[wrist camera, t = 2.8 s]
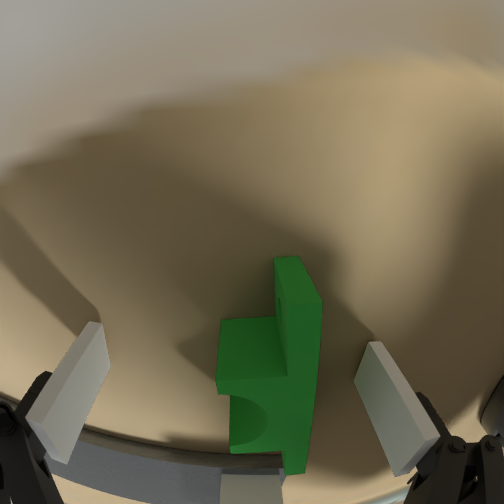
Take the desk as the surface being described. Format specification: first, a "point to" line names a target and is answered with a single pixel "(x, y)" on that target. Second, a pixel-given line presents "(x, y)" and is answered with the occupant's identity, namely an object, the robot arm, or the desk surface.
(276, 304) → the pipe clamp
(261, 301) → the desk surface
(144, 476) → the mounting rail
